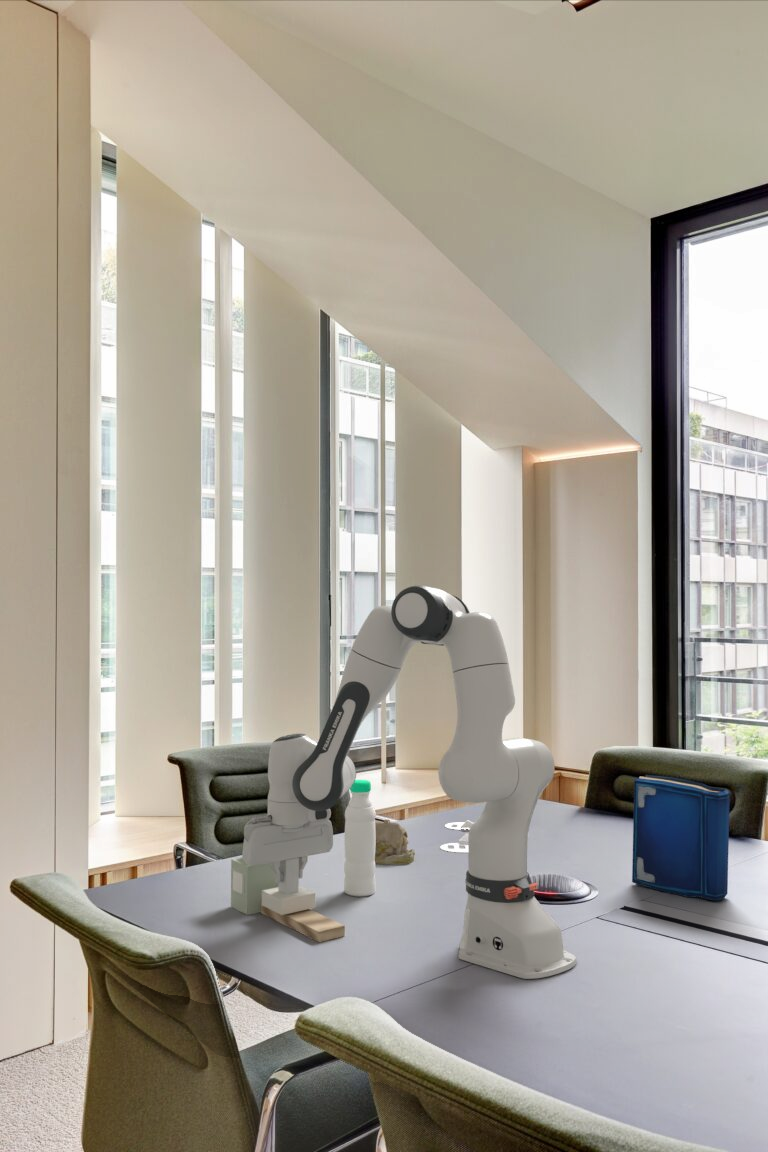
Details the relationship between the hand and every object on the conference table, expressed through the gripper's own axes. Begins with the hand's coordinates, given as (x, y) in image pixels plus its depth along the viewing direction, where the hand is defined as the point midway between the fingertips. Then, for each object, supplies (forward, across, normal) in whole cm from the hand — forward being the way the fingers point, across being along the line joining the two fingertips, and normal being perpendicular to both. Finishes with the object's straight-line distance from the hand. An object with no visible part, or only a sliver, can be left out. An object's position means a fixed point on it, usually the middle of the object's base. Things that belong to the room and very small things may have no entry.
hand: (288, 880), depth 196 cm
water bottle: (+8, +22, +5) cm, 24 cm away
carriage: (+5, 0, 0) cm, 5 cm away
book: (+8, +81, -38) cm, 90 cm away
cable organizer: (+8, +80, +26) cm, 85 cm away
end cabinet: (+8, 0, +10) cm, 13 cm away
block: (+8, 0, -5) cm, 9 cm away
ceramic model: (+8, +45, +24) cm, 52 cm away
